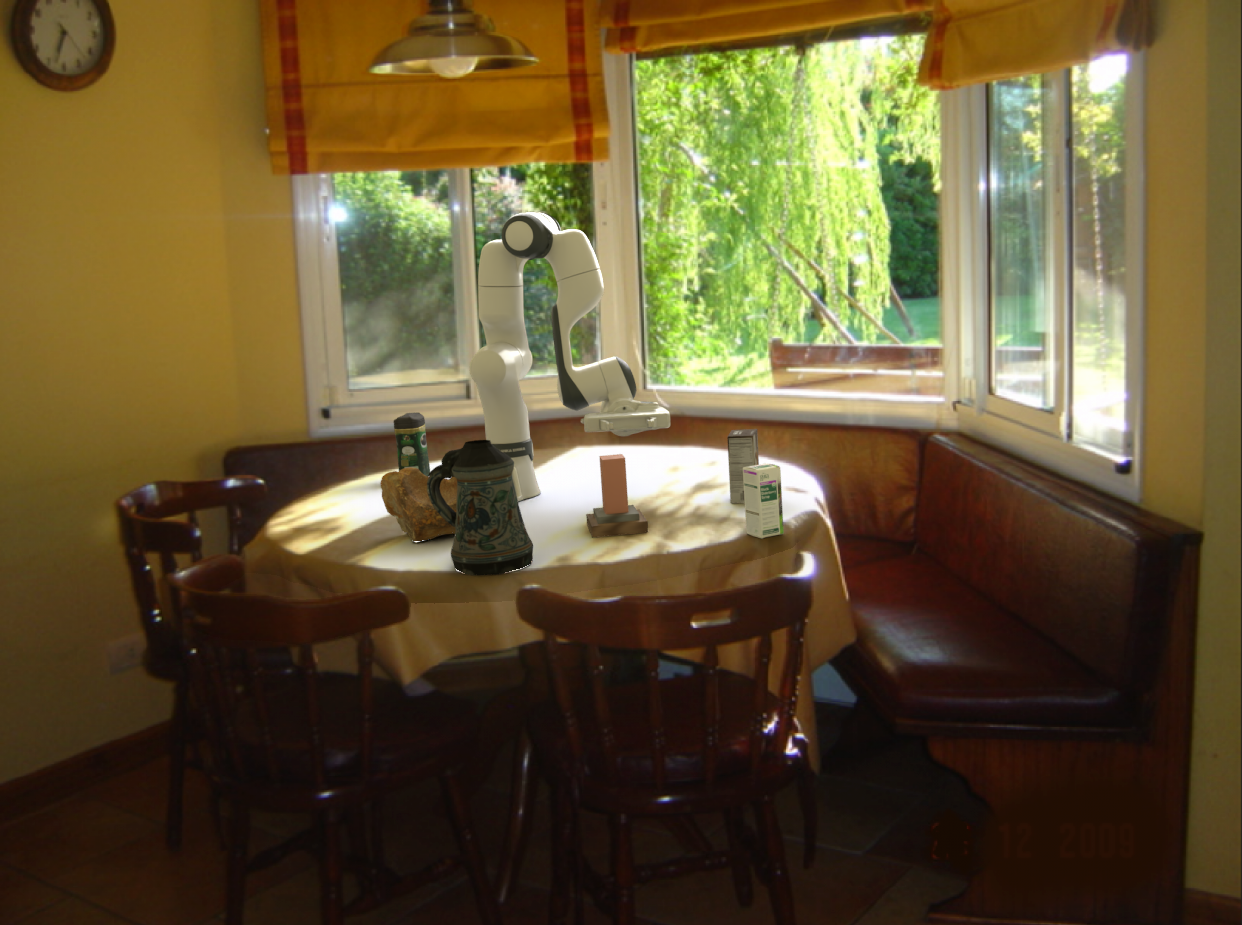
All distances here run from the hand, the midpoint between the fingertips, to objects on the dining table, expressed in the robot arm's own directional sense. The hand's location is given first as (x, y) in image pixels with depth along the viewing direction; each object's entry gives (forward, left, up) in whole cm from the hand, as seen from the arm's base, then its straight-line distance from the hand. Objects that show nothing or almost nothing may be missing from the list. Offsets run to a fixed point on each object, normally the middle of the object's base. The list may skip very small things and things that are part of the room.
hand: (630, 425), depth 271 cm
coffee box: (+27, +4, -20) cm, 34 cm away
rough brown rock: (-46, -5, -21) cm, 51 cm away
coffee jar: (-53, +66, -20) cm, 87 cm away
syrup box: (+23, -30, -20) cm, 43 cm away
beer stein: (-35, -34, -20) cm, 53 cm away
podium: (-6, -14, -20) cm, 25 cm away
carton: (-6, -14, -16) cm, 22 cm away
